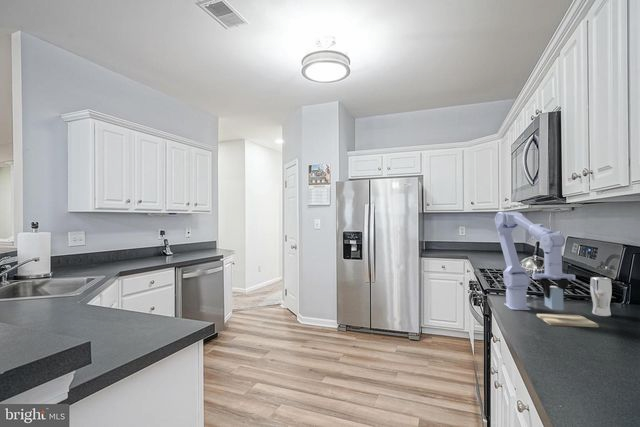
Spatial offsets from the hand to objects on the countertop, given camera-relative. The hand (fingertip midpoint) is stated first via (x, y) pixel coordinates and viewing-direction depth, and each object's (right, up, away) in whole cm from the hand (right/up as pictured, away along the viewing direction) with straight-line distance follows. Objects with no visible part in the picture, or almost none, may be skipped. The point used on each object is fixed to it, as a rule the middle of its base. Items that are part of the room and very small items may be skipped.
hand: (553, 297), depth 132 cm
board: (+4, -9, -1) cm, 10 cm away
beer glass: (+25, -9, +7) cm, 28 cm away
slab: (0, -4, 0) cm, 4 cm away
